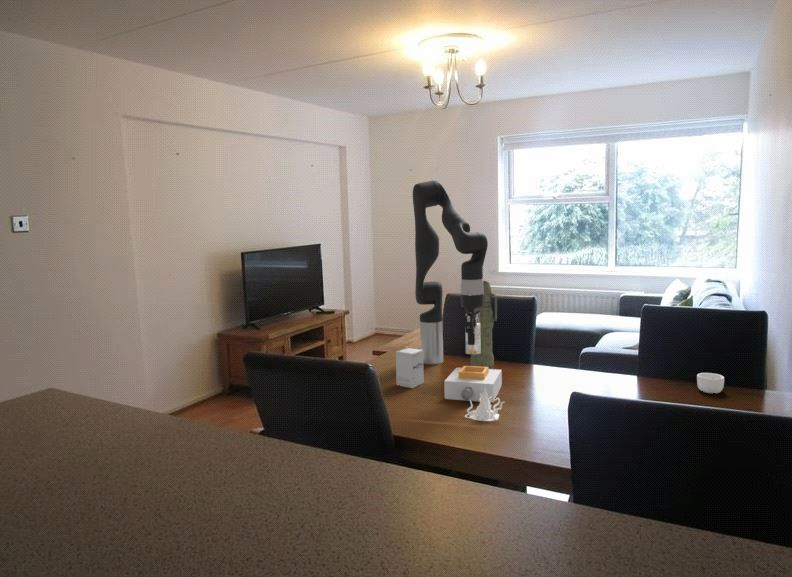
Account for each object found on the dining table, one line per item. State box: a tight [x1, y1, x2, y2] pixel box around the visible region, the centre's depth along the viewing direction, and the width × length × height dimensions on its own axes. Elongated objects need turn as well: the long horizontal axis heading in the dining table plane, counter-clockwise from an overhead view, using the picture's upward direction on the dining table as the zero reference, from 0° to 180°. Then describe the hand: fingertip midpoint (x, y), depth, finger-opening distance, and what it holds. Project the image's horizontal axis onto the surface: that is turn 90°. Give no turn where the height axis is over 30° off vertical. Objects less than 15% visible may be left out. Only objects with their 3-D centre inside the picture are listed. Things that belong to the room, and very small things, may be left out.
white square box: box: [443, 365, 503, 403], centre depth 185 cm, size 22×16×8 cm
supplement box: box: [395, 347, 425, 389], centre depth 198 cm, size 7×7×13 cm
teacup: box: [696, 372, 725, 394], centre depth 180 cm, size 10×8×5 cm
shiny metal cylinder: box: [464, 323, 481, 355], centre depth 185 cm, size 5×5×10 cm
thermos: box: [465, 280, 498, 369], centre depth 211 cm, size 9×12×35 cm
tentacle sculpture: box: [464, 386, 506, 422], centre depth 163 cm, size 9×12×9 cm
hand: (473, 342), depth 185 cm, fingers closed on shiny metal cylinder, 5 cm apart
